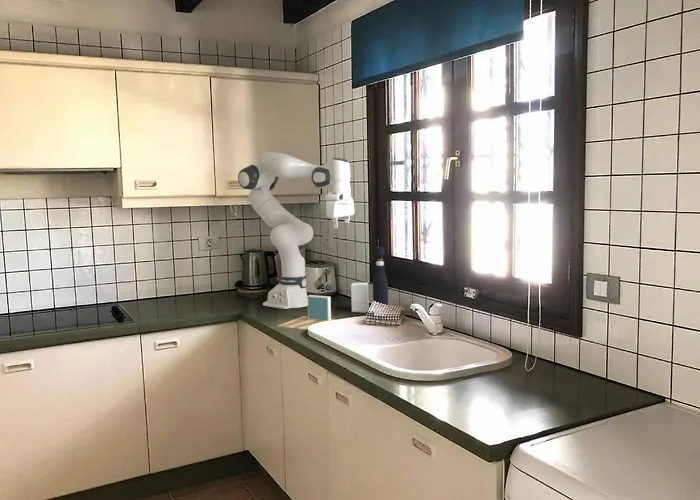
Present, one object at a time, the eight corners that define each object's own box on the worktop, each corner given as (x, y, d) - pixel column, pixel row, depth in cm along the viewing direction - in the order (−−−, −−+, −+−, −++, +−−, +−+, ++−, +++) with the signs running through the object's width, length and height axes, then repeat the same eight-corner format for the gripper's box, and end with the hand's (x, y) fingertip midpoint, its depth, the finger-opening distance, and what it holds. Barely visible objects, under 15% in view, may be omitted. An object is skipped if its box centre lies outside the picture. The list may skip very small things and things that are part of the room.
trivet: (277, 327, 262) (276, 326, 262) (303, 317, 280) (303, 316, 280) (319, 332, 253) (319, 330, 253) (343, 321, 270) (343, 320, 270)
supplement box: (369, 309, 294) (368, 282, 292) (367, 313, 286) (367, 285, 285) (352, 309, 294) (352, 282, 293) (351, 313, 287) (350, 285, 286)
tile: (307, 319, 274) (307, 295, 273) (310, 318, 276) (310, 295, 275) (328, 321, 269) (327, 297, 268) (331, 320, 271) (330, 296, 270)
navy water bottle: (390, 315, 281) (389, 246, 277) (384, 318, 275) (383, 248, 271) (376, 314, 283) (375, 246, 280) (371, 317, 277) (369, 247, 274)
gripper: (345, 194, 292) (345, 225, 293) (323, 196, 274) (323, 229, 275) (357, 194, 289) (358, 225, 291) (336, 196, 271) (336, 229, 272)
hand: (341, 227), depth 283 cm, fingers open, 8 cm apart
